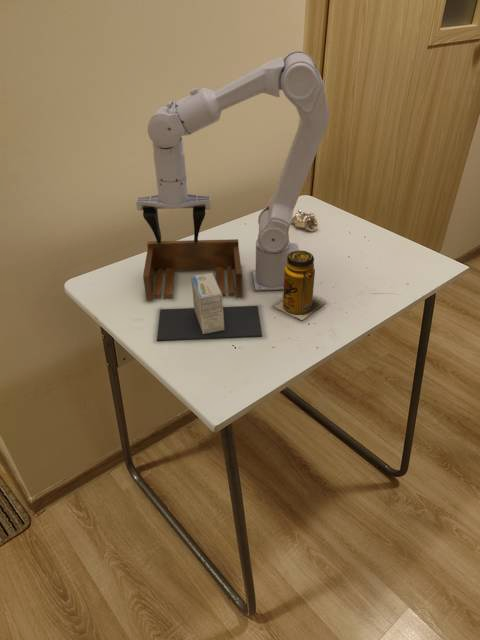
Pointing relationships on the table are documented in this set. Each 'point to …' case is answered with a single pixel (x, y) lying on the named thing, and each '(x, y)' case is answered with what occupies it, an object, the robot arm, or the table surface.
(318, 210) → the table surface
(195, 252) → the shelf rack
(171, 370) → the table surface
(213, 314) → the medicine box
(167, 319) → the rubber mat
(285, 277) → the condiment
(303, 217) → the ornament
